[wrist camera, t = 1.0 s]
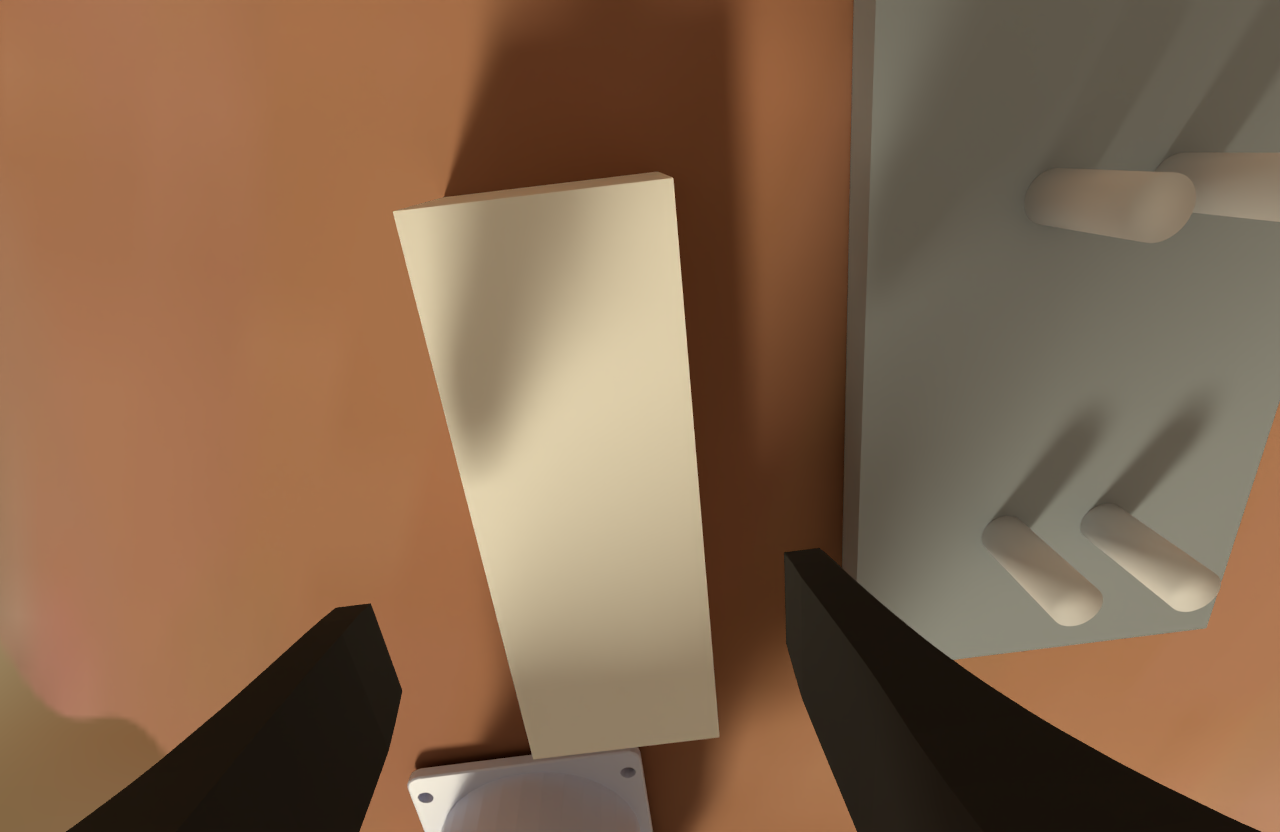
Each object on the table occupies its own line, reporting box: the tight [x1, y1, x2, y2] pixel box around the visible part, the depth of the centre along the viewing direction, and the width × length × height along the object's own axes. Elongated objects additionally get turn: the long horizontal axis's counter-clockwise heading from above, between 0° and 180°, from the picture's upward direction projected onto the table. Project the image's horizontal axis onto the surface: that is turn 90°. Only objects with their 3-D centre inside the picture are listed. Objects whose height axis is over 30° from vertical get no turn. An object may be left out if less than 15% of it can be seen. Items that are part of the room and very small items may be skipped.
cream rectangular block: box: [393, 172, 719, 759], centre depth 16 cm, size 14×5×4 cm, turn 6°
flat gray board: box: [842, 0, 1280, 660], centre depth 15 cm, size 18×11×4 cm, turn 6°
